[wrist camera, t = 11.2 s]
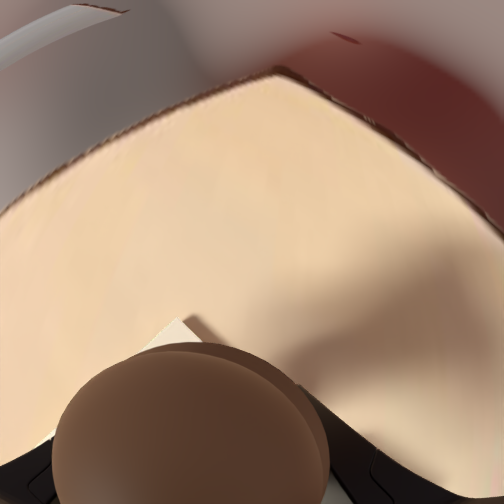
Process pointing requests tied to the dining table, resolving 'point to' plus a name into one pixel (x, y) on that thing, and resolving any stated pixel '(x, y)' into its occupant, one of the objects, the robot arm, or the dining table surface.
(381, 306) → the dining table surface
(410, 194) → the dining table surface
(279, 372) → the pawn
